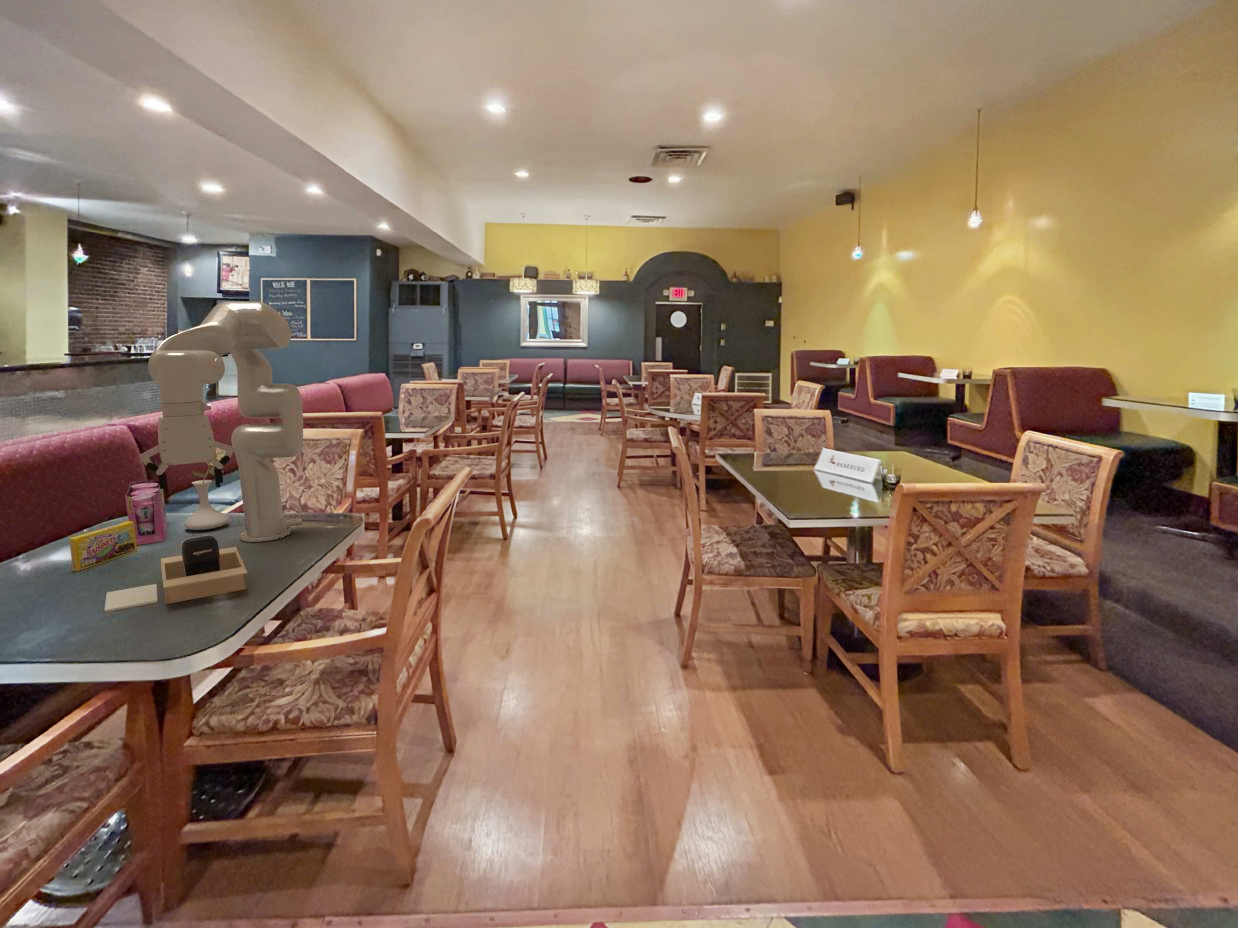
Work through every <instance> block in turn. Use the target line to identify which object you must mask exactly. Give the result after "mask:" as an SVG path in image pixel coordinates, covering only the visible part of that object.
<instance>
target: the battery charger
mask: <svg viewBox="0 0 1238 928" xmlns="http://www.w3.org/2000/svg"><path fill="white" fill-rule="evenodd" d="M180 549H181V555H182V560H183V566H184V571H185V576H186V577H187V576H193V575H198V574H204V573H210V572H216V571H220V565H219V558H220V552H219V549H220V546H219V542H218V540H217V538H216V537H215V536H214V535H212V534H205V535H199V536H193V537H188V538H186V539H184V540H183V541H182V542H181V546H180Z"/></svg>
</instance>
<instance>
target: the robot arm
mask: <svg viewBox="0 0 1238 928" xmlns="http://www.w3.org/2000/svg"><path fill="white" fill-rule="evenodd" d="M291 339H292V332H291V326H290V325H289V323H288V321H287V320H286V319H285V317H284V316H282V315H281V314H280V313H279V312H278V311H277V310H276V309H275V308H274V307H272V306H271V305H270V304H267V303H265V302H262V301H223V302H220V303H218V304H216V305H215V306H214V307H213V308H212V309H211V310H210V312H208V314H207V315H206V316H205V318H204V319H203V320H202V321H201V323H200V324H199V325H197V326H193V327H191V328H188V329H186V330H184V331H181V332H178V333H175V334H173V335H171V336H169V337H167V338H165V339H164V340H162V341H161V342H160V343H159V344H158V345H157V346H156V347H155V348H154V350H153V352H152V353H151V354H150V357H149V359H148V366H147V367H148V368H147V369H148V374H149V376H150V377H151V379H152V380H153V381H154V382H156V383H157V384H158V389H159V396H160V397H159V398H160V399H159V400H160V406H161V412H162V413H161V414H162V417H159V418H158V420H157V421H158V422H157V442H158V445H155V446H154V447H152V448H150V449H148V450H146V451H144V452H142V453H141V454H139V460H140V461H141V462H142V463H143V464H144V465H145V466H146V468H147V469H149V470H151V471H152V472H153V473H155V474H156V475H157V477H158V480H159V485H160V489H163V494H168V493H169V485H168V479H167V473H166V472H165V471H166V470H167V469H168V467H169V466H175V465H176V466H177V465H187V464H197V463H205V462H208V461H209V462H211V463H212V464H213V465H214V466H215V469H214V475H213V476H214V485H215V487H216V488H221V483H222V484H223V483H224V478H223V476H224V475H223V473H222V470H223V468H224V466H226V464H227V463H229V461H230V460H231V457H232V455H233V453H234V455H235V459H236V462H237V466H238V474H239V483H240V490H241V498H242V499H241V500H242V508H243V516H244V524H245V525H244V527H245V531H243V532H241V533H240V535H239V537H240V538H239V539H240V540H241V541H243V542H248V543H260V542H262V541H263V542H270V541H274V540H275V541H276V540H279V538H280V539H282V538H285V536H286V537H287V535H288V536H289V535H290V534H291V527H297V526H303V520H302V518H290V519H286V518H285V516H284V514H283V513H284V512H283V504H282V494H281V484H280V483H281V482H280V475H279V471H278V469H277V468H276V466H275V465H274V464H273V462H272V461H270V459H276V458H277V459H279V458H283V459H284V458H294V457H298V456H299V455H300V454H301V453H302V451H303V448H304V417H303V416H304V412H303V411H304V410H303V409H304V408H303V397H302V394H301V392H300V389H299V388H298V387H297V386H295V385H294V384H291V383H273V368H272V365H271V363H270V361H269V360H268V359H267V358H266V357H265V356H264V354H263V353H261V352H260V351H259V350H280V349H284V348H287V347H288V346H289V345H290V342H291ZM227 354H230V356H231V357H232V359H233V361H234V364H235V366H236V377H237V379H236V380H237V383H236V384H237V389H236V390H237V406H238V407H237V408H238V411H239V414H240V415H241V416H242V417H244V418H245V419H254V420H255V419H256V420H257V419H260V420H261V419H262V420H264V419H265V420H266V419H267V420H268V419H281V420H282V422H272V423H269V422H263V423H262V422H261V423H260V422H257V423H245V424H240V425H239V426H237V427H235V428H234V430H233V431H232V434H231V438H230V439H231V445H232V446H231V445H228V444H225V443H222V442H219V441H216V440H215V438H214V433H213V429H212V425H211V421H210V418H209V416H208V415H207V414H205V412H207V411H211V410H212V405H211V403H207V402H204V401H203V395H202V394H203V393H202V387H201V385H212V384H216V383H218V382H220V381H221V380H222V379H223V377H224V376H225V372H226V366H225V365H226V364H225V362H224V360H223V358H222V356H224V355H227ZM215 447H216V448H219V449H222V450H224V451H225V455H224V456H223V457H222V458H221V459H220V460H219V461H218V460H217V459H216V458H215V457H216V451H215ZM157 454H159V456H160V461H161V463H159V465H157V464H155V463H154V462H153V461H152V460H151V459H150V458H151V457H153V456H154V455H157Z"/></svg>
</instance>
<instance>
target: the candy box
mask: <svg viewBox="0 0 1238 928" xmlns="http://www.w3.org/2000/svg"><path fill="white" fill-rule="evenodd" d="M68 539H69V540H68V541H69V542H68V543H69V550H70V555H71V556H70V558H71V568H72V571H73V572H81V571H84V570H87V569H90V568H92V566H93V567H95V565H96V566H99V565H101V564H105V563H107V562H109V561H112V560H116V559H118V558H122V557H124V556H127V555H129V554H133V553H135V552H138V547H137V546H138V545H136V537H135V528H134V522H131V521H129V520H127V521H124V522H121V523H117V524H114V525H110V526H108V527H104V528H100V529H96V530H94V531H90V532H86V533H84V534H83V533H82V534H80V535H76V536H72V537H69V538H68ZM89 567H90V568H89ZM86 568H87V569H86ZM83 569H84V570H83ZM80 570H81V571H80Z"/></svg>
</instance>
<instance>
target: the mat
mask: <svg viewBox="0 0 1238 928" xmlns="http://www.w3.org/2000/svg"><path fill="white" fill-rule="evenodd" d="M157 586H158V585H157V583H154V584H146V585H141V586H136V587H130V588H125V589H118V590H114V591H107V592H106V596H105V604H104V610H103V611H104V613H110V612H115V611H119V610H121V611H122V610H125V609H132V608H136V607H141V606H148V605H152V604H156V603H157V604H158V602H159V601H158V587H157Z"/></svg>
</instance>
